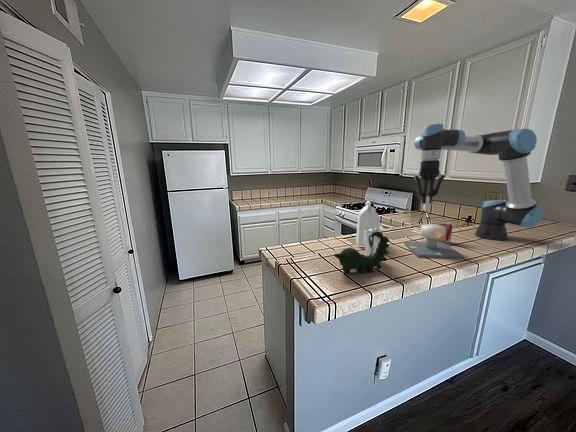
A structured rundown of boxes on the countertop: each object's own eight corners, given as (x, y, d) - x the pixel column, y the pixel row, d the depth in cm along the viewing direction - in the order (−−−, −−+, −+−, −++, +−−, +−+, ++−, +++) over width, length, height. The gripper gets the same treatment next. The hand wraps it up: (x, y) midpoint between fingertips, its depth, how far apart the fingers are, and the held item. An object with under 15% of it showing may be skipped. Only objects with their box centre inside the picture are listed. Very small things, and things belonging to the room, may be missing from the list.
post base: (442, 244, 131) (443, 231, 130) (463, 258, 111) (465, 243, 109) (403, 243, 135) (404, 230, 133) (417, 257, 114) (418, 242, 113)
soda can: (453, 243, 132) (455, 224, 129) (441, 244, 132) (443, 224, 129) (445, 240, 138) (447, 221, 136) (433, 240, 139) (435, 221, 136)
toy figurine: (377, 267, 108) (328, 268, 104) (382, 229, 105) (331, 228, 100) (389, 276, 99) (336, 277, 95) (395, 234, 96) (340, 234, 91)
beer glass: (377, 261, 111) (379, 232, 107) (362, 260, 113) (363, 231, 110) (377, 256, 117) (378, 228, 114) (363, 255, 119) (364, 227, 116)
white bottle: (418, 232, 128) (419, 223, 127) (440, 233, 124) (441, 224, 123) (428, 244, 108) (429, 234, 107) (455, 246, 105) (456, 235, 103)
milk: (356, 241, 143) (357, 200, 137) (375, 241, 140) (377, 200, 135) (357, 247, 131) (359, 203, 126) (378, 248, 129) (381, 203, 124)
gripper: (417, 160, 102) (413, 211, 107) (450, 159, 100) (444, 211, 104) (412, 160, 109) (408, 208, 114) (442, 159, 107) (437, 208, 112)
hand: (425, 210), depth 109 cm, fingers closed
